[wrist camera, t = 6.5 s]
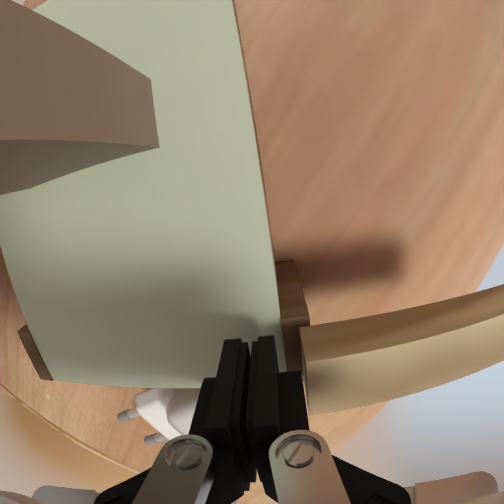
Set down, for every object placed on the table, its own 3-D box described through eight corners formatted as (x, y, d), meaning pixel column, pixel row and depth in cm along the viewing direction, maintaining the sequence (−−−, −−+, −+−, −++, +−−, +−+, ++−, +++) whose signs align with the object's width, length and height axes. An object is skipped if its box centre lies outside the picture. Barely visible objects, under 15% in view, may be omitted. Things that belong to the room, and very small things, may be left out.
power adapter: (168, 418, 20) (148, 476, 15) (124, 376, 19) (92, 432, 14) (296, 364, 18) (305, 433, 12) (253, 307, 17) (248, 373, 11)
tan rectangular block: (299, 327, 10) (305, 362, 8) (514, 280, 9) (541, 298, 7) (303, 378, 11) (309, 415, 9) (504, 327, 10) (527, 348, 8)
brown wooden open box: (40, 68, 13) (-24, 52, 7) (251, -3, 12) (245, -69, 6) (88, 327, 18) (40, 378, 12) (299, 310, 17) (313, 379, 11)
